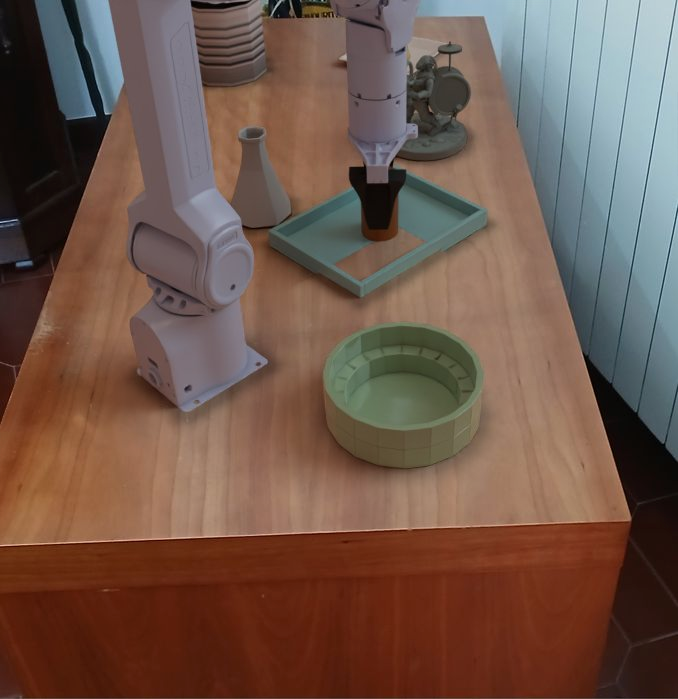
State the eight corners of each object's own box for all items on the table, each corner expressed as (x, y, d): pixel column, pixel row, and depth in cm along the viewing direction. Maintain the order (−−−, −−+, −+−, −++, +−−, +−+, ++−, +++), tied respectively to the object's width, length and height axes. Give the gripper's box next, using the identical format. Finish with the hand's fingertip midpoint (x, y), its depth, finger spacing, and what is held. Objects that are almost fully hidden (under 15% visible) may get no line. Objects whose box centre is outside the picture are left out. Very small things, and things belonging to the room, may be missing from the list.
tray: (360, 302, 92) (360, 286, 90) (269, 245, 100) (267, 230, 98) (486, 225, 101) (488, 209, 100) (394, 179, 109) (394, 164, 108)
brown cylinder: (379, 246, 98) (378, 165, 92) (353, 231, 100) (351, 151, 94) (406, 230, 100) (406, 150, 94) (380, 216, 102) (379, 137, 96)
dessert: (411, 82, 129) (411, 49, 125) (338, 66, 134) (336, 33, 130) (449, 50, 136) (451, 18, 133) (379, 36, 141) (379, 5, 138)
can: (178, 65, 136) (165, -18, 128) (248, 47, 140) (240, -34, 132) (207, 94, 128) (195, 8, 120) (281, 75, 132) (274, -10, 124)
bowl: (404, 499, 72) (404, 456, 69) (294, 415, 80) (290, 372, 77) (511, 414, 79) (516, 371, 76) (400, 344, 86) (401, 302, 83)
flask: (283, 232, 101) (276, 151, 95) (220, 227, 103) (209, 146, 96) (299, 197, 107) (292, 118, 100) (239, 193, 108) (229, 114, 101)
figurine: (375, 124, 120) (374, 34, 112) (456, 116, 120) (461, 26, 113) (389, 164, 112) (389, 70, 104) (476, 156, 112) (482, 61, 105)
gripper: (420, 121, 83) (418, 246, 92) (416, 55, 94) (414, 172, 103) (343, 123, 84) (347, 247, 93) (347, 57, 95) (351, 173, 104)
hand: (378, 207), depth 98 cm, fingers open, 7 cm apart
